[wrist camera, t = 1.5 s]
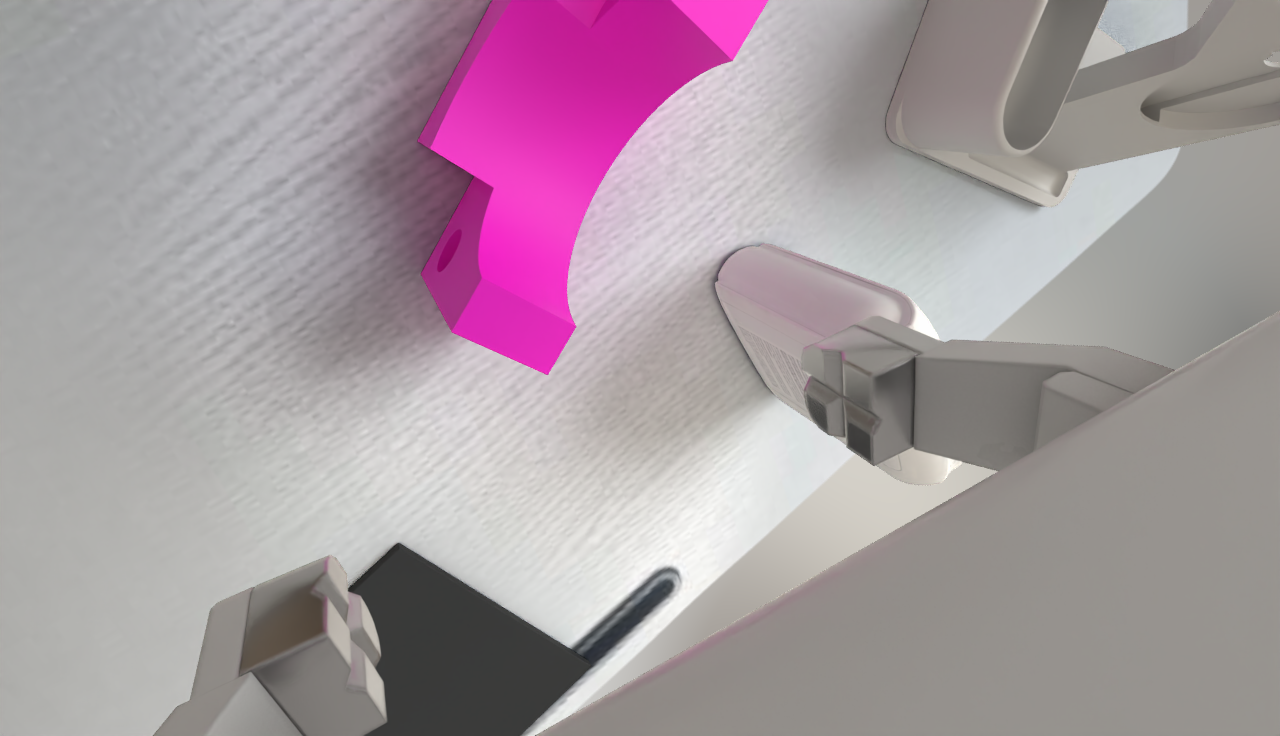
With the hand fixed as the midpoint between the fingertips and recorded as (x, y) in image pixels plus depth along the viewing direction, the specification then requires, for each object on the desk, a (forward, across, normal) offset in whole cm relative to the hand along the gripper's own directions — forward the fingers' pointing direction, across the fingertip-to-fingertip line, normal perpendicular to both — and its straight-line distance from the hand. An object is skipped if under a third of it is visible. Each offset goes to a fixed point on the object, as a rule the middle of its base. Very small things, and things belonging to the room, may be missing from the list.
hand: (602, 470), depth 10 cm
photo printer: (+19, -16, +10) cm, 27 cm away
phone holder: (+19, -34, +2) cm, 39 cm away
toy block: (+19, -5, -3) cm, 20 cm away
